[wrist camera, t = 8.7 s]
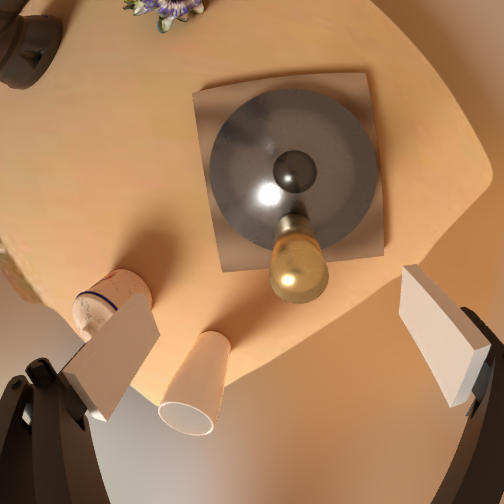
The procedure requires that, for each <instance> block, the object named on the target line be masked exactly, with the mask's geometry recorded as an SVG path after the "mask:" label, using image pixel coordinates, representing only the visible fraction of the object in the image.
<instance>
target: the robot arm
mask: <svg viewBox="0 0 504 504" xmlns="http://www.w3.org/2000/svg"><path fill="white" fill-rule="evenodd" d="M28 2H29V0H0V81H1V82H3V83H4V84H6V85H8V86H9V87H11V88H13V89H26V88H29V87H30V86H32V85H33V84H34V83H35V82H36V81H37V80H38V79H39V78H40V77H41V76H42V75H43V73H44V72H45V71H46V69H47V68H48V66H49V64H50V63H51V61H52V59H53V57H54V55H55V53H56V51H57V48H58V46H59V43H60V40H61V35H62V23H61V21H60V20H59V19H58V18H56V17H54V16H51V15H32V16H21V15H19V13H20V12H21V11H22V9H23V8H24V7H25V5H26V4H27V3H28ZM399 315H400V317H401V319H402V320H403V322H404V323H405V325H406V327H407V329H408V330H409V332H410V334H411V335H412V337H413V339H414V340H415V342H416V344H417V346H418V347H419V349H420V351H421V353H422V354H423V356H424V358H425V360H426V362H427V364H428V365H429V367H430V369H431V371H432V373H433V375H434V377H435V378H436V380H437V382H438V384H439V386H440V388H441V390H442V392H443V394H444V396H445V398H446V400H447V402H448V404H449V406H450V408H451V407H454V406H456V405H459V404H461V403H464V402H466V401H467V399H468V397H469V395H470V393H471V391H472V392H473V394H474V395H475V397H476V398H475V400H474V401H473V403H472V405H471V407H470V409H469V411H468V412H467V414H466V416H468V415H469V417H468V420H467V423H466V426H465V429H464V432H463V435H462V437H461V440H460V443H459V445H458V448H457V450H456V453H455V455H454V458H453V460H452V462H451V465H450V467H449V469H448V471H447V473H446V475H445V477H444V480H443V481H442V483H441V485H440V487H439V489H438V491H437V493H436V495H435V497H434V498H433V501H432V502H431V504H499V503H500V500H501V497H502V494H503V492H504V344H502V343H501V341H500V340H499V339H498V338H497V337H496V336H495V334H494V333H493V332H492V331H491V330H490V329H489V328H488V326H485V323H484V322H483V321H482V320H480V318H479V317H478V316H477V315H476V314H475V312H473V311H472V310H470V309H468V308H466V307H461V308H459V307H458V306H457V305H456V303H455V302H454V301H453V300H452V299H451V298H450V297H449V296H448V295H447V294H446V293H445V292H444V291H443V290H442V289H441V288H440V287H439V286H438V285H437V284H436V283H435V282H434V281H433V280H432V279H431V278H430V277H429V276H428V275H427V274H426V273H425V272H424V271H423V270H422V269H421V268H420V267H419V266H418V265H417V264H414V265H407V266H403V273H402V287H401V299H400V309H399ZM159 336H160V333H159V331H158V328H157V325H156V323H155V320H154V317H153V314H152V311H151V309H150V306H149V303H148V300H147V297H146V294H145V293H134V294H133V295H132V296H131V297H130V298H129V299H128V300H127V301H126V302H125V303H124V304H123V305H122V306H121V307H120V308H119V309H118V310H117V311H116V312H115V313H114V314H113V315H112V316H111V318H110V319H109V320H108V321H107V322H106V323H105V324H104V325H103V326H102V327H101V328H100V329H99V330H98V331H97V333H96V334H95V335H94V336H93V337H92V338H91V339H90V340H89V341H88V342H87V343H85V344H84V345H83V346H82V347H81V348H80V349H79V351H78V352H77V353H76V354H75V355H74V356H73V358H71V360H70V361H69V362H68V363H67V364H66V365H65V366H64V367H63V369H62V370H61V371H60V372H59V373H58V374H57V373H56V372H55V370H54V368H53V367H52V365H51V363H50V362H49V360H48V359H46V358H38V359H36V360H34V361H33V362H32V363H30V364H29V365H28V366H27V368H26V370H25V372H26V373H27V375H28V376H29V378H30V379H31V381H32V382H33V384H30V383H29V382H28V380H27V378H26V377H25V376H24V375H19V376H15V377H13V378H12V379H11V380H10V381H9V383H8V384H7V386H6V389H5V390H4V393H3V395H2V397H1V400H0V504H111V503H110V501H109V498H108V495H107V492H106V489H105V486H104V483H103V480H102V476H101V473H100V469H99V466H98V462H97V458H96V454H95V450H94V446H93V442H92V437H91V432H90V428H89V422H88V419H87V417H86V415H85V412H86V411H87V409H88V410H89V412H90V413H91V414H92V416H93V417H94V418H96V419H99V420H103V421H108V419H109V418H110V416H111V414H112V413H113V411H114V409H115V407H116V406H117V404H118V403H119V401H120V399H121V398H122V396H123V394H124V393H125V391H126V389H127V388H128V386H129V384H130V383H131V381H132V380H133V378H134V376H135V375H136V373H137V371H138V370H139V368H140V367H141V365H142V363H143V362H144V360H145V359H146V357H147V355H148V354H149V352H150V351H151V349H152V347H153V346H154V344H155V343H156V341H157V340H158V338H159ZM23 413H24V414H25V416H26V417H27V418H28V419H29V420H30V423H29V425H28V424H27V423H26V422H25V421H24V420H23V419H22V416H23Z"/></svg>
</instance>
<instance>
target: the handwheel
mask: <svg viewBox="0 0 504 504" xmlns="http://www.w3.org/2000/svg"><path fill="white" fill-rule="evenodd" d="M209 174H210V183H211V188H212V192H213V195H214V198H215V200H216V203H217V205H218V207H219V209H220V211H221V213H222V214H223V216H224V217H225V218H226V220H227V221H228V222H229V224H230V225H231V226H232V227H233V228H234V229H235V230H236V231H237V232H238V233H240V234H241V235H242V236H243V237H245V238H246V239H248V240H249V241H251V242H252V243H254V244H256V245H258V246H260V247H263V248H265V249H268V250H271V251H273V255H272V262H271V269H270V284H271V287H272V289H273V291H274V292H275V293H276V294H277V295H278V296H279V297H280V298H281V299H283V300H285V301H287V302H290V303H295V304H302V303H307V302H310V301H312V300H314V299H316V298H317V297H319V296H320V295H321V294H322V293H323V291H324V290H325V288H326V286H327V283H328V278H329V274H328V269H327V266H326V263H325V260H324V257H323V255H322V252H321V249H325V248H327V247H329V246H331V245H334V244H335V243H337V242H339V241H340V240H342V239H343V238H345V237H346V236H347V235H348V234H350V233H351V232H352V231H353V230H354V229H355V228H356V227H357V226H358V225H359V223H360V222H361V221H362V219H363V218H364V216H365V215H366V213H367V211H368V209H369V207H370V205H371V202H372V200H373V197H374V193H375V189H376V183H377V163H376V157H375V152H374V149H373V146H372V143H371V141H370V139H369V136H368V134H367V132H366V131H365V129H364V128H363V126H362V125H361V123H360V122H359V121H358V120H357V118H356V117H355V116H354V115H353V114H352V113H351V112H350V111H349V110H348V109H346V108H345V107H344V106H342V105H341V104H340V103H338V102H337V101H335V100H333V99H331V98H329V97H327V96H325V95H322V94H319V93H317V92H313V91H308V90H303V89H280V90H275V91H270V92H267V93H264V94H261V95H258V96H256V97H254V98H252V99H250V100H249V101H247V102H246V103H244V104H243V105H241V106H240V107H239V108H238V109H236V110H235V111H234V112H233V113H232V114H231V115H230V116H229V118H228V119H227V120H226V121H225V123H224V124H223V126H222V127H221V129H220V130H219V132H218V135H217V137H216V139H215V141H214V144H213V148H212V151H211V157H210V168H209Z"/></svg>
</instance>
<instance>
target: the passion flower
mask: <svg viewBox="0 0 504 504" xmlns="http://www.w3.org/2000/svg"><path fill="white" fill-rule="evenodd" d="M201 1H202V0H137V1H133V0H125V1H124V2H125V3H127V6H125V7H123V9H124V10H126V9H132V10H133V12H134V13H133V15H134V16H140V15H142V14H145V13H148V12H150V11H153V10H154V11H156V12H157V13H158V14H159V21H158V22H157V28H158V31H159V32H160V33H165V32H167V31H168V30H169V29H170V27H171V25H172V23H173V20H174V19H175V18H176V19H178V20H180V21H183V22H187V20H188V15H189V13H192V12H194V13H196V14H202V13H203V11H204V6H203V4H202V2H201ZM131 4H132V5H131Z"/></svg>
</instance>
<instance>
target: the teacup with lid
mask: <svg viewBox="0 0 504 504" xmlns="http://www.w3.org/2000/svg"><path fill="white" fill-rule="evenodd" d="M134 293H145V294H146V297H147V300H148V303H149V306H150V309H151V308H152V296H151V293H150V290H149V288H148V286H147V285H146V283H145V282H144V281H143V280H142V279H141V278H140V277H139V276H138V275H137V274H135V273H134V272H132V271H129V270H125V269H117V270H114V271H112V272H111V273H109V274H108V275H107V276H105V277H104V278H103V279H101V280H100V281H99V282H97V283H96V284H95V285H94V286H92V287H91V288H90V289H88V290H87V291H85V292H82V293H80V294H79V295H78V296H77V297H76V299H75V301H74V303H73V318H74V321H75V324H76V326H77V328H78V330H79V331H80V333H81V334H82V336H83V338H84V339H85V340H87V341H89V340H90V339H91V338H92V337H93V336H94V335H95V334H96V333H97V331H98V330H99V329H100V328H101V327H102V326H103V325H104V324H105V323H106V322H107V321H108V320H109V319H110V318H111V316H112V315H113V314H114V313H115V312H116V311H117V310H118V309H119V308H120V307H121V306H122V305H123V304H124V303H125V302H126V301H127V300H128V299H129V298H130V297H131V296H132V295H133V294H134Z"/></svg>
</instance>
